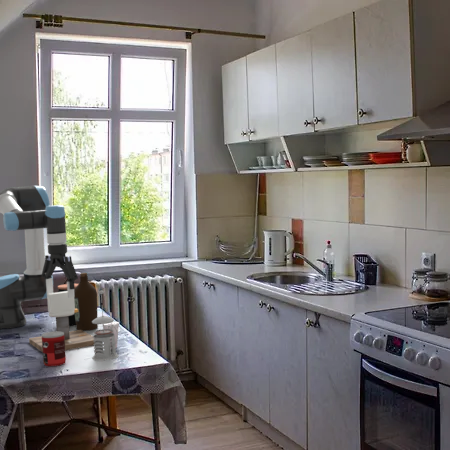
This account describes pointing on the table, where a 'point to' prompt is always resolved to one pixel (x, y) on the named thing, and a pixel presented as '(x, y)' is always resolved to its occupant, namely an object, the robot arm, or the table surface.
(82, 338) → the post board
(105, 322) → the french press
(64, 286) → the coffee jar
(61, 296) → the cap
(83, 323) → the olive oil
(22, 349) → the table surface
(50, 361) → the canned food
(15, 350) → the table surface
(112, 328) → the smoothie
